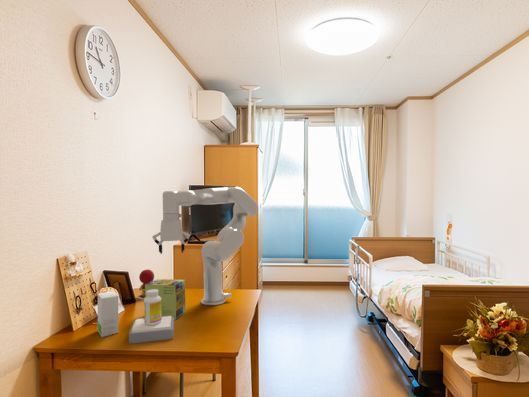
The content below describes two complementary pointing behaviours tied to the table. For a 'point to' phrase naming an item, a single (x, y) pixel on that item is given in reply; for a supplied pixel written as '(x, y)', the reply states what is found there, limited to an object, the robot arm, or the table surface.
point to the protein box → (170, 296)
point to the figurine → (145, 281)
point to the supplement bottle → (152, 308)
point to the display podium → (151, 330)
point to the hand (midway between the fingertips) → (171, 252)
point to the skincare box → (107, 313)
